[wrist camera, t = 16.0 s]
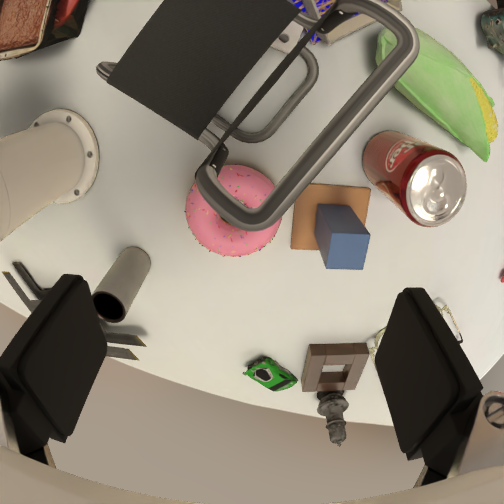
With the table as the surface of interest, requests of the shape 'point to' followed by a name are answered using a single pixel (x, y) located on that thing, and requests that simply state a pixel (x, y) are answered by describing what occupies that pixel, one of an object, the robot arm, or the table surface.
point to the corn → (445, 92)
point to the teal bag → (494, 27)
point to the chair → (233, 72)
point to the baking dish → (37, 24)
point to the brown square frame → (334, 355)
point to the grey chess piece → (333, 413)
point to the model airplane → (109, 337)
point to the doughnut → (220, 232)
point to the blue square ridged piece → (317, 3)
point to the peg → (341, 237)
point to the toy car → (271, 375)
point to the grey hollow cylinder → (121, 285)
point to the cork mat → (323, 195)
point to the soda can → (416, 177)
